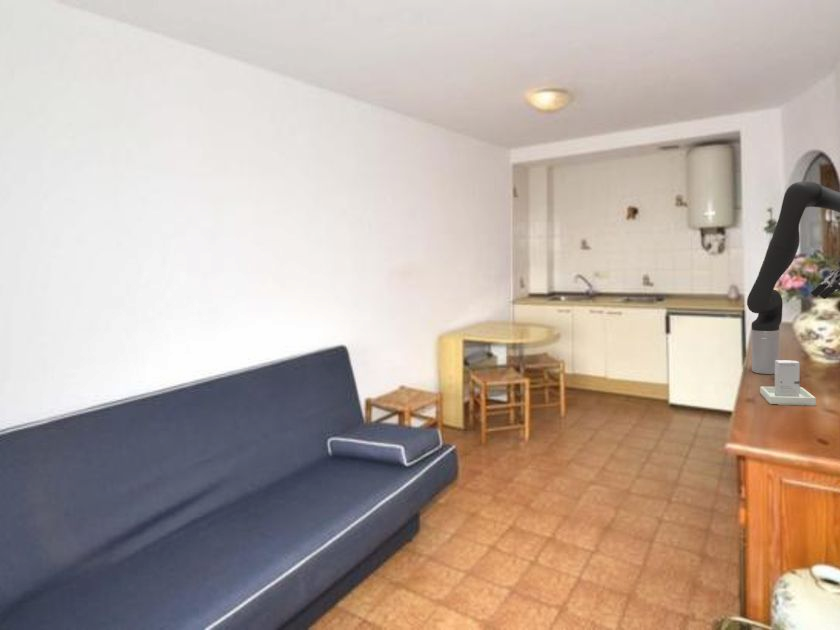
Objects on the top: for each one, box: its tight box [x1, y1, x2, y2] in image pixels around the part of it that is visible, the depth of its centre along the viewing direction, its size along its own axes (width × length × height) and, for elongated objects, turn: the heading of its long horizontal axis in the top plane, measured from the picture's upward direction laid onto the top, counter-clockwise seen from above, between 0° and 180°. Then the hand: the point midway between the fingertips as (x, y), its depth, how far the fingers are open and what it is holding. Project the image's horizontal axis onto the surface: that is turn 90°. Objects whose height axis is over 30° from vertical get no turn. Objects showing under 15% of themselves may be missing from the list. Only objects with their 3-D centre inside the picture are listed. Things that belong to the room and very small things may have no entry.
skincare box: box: [774, 359, 801, 397], centre depth 170 cm, size 6×4×12 cm
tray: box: [759, 385, 817, 407], centre depth 171 cm, size 14×12×2 cm
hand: (817, 296), depth 174 cm, fingers open, 8 cm apart
